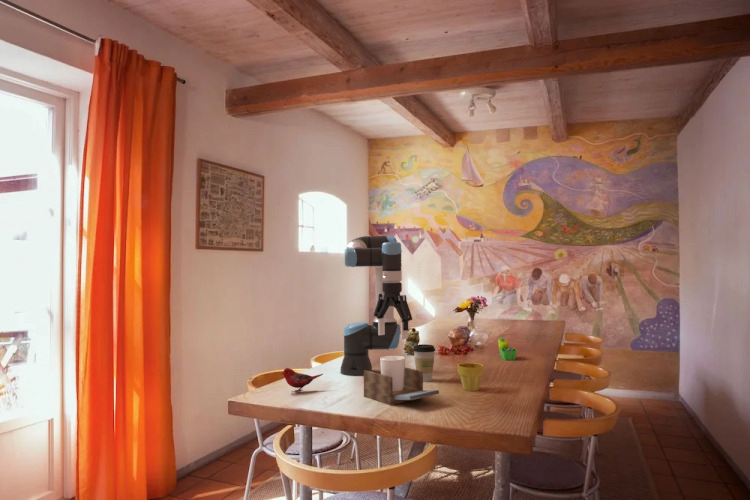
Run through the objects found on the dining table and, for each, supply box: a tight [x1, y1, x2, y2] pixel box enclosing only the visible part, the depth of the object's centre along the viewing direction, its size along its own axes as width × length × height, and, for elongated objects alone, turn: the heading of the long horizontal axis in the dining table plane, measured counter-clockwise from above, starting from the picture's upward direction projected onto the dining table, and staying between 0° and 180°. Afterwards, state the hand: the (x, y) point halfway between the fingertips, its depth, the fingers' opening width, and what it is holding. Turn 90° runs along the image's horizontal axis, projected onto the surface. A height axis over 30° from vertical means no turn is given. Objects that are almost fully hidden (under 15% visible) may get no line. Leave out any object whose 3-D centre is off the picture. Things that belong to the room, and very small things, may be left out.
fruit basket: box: [497, 337, 518, 361], centre depth 275 cm, size 11×9×11 cm
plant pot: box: [457, 362, 485, 392], centre depth 210 cm, size 10×10×10 cm
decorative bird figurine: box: [280, 367, 324, 393], centre depth 209 cm, size 3×18×10 cm, turn 113°
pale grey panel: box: [394, 389, 440, 401], centre depth 188 cm, size 1×13×10 cm
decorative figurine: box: [402, 327, 421, 356], centre depth 291 cm, size 10×8×15 cm
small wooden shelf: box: [363, 366, 424, 406], centre depth 198 cm, size 16×16×10 cm
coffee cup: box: [413, 343, 436, 383], centre depth 227 cm, size 10×10×15 cm
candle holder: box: [379, 355, 406, 392], centre depth 199 cm, size 10×10×12 cm
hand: (392, 337), depth 199 cm, fingers open, 13 cm apart
